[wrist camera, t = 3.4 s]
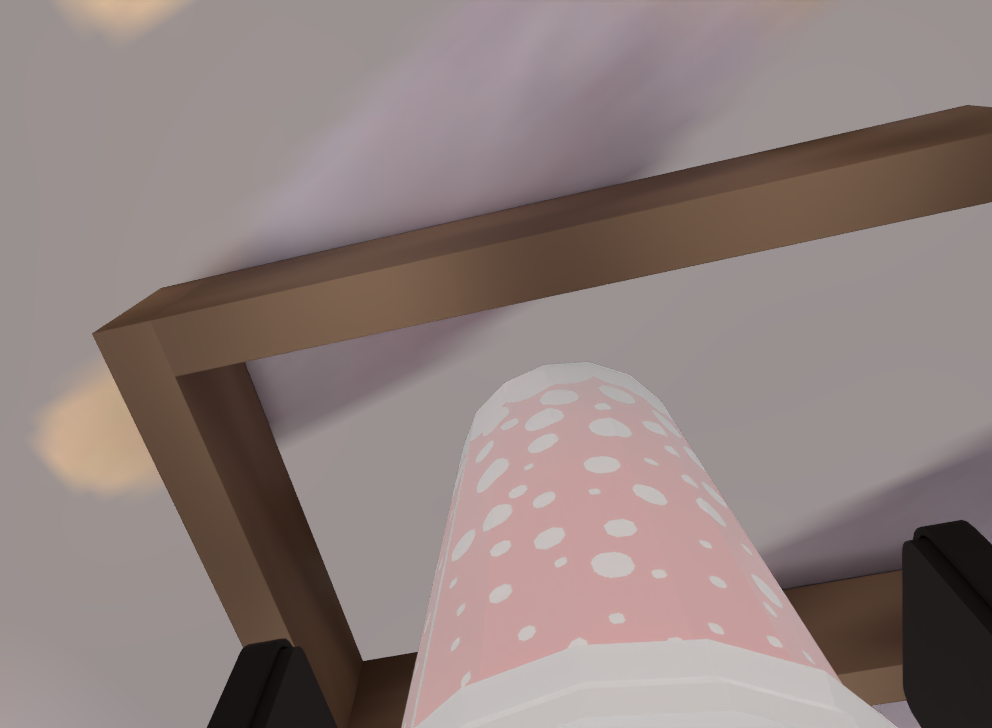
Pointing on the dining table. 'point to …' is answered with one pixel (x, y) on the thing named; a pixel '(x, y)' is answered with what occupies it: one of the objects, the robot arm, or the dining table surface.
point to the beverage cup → (606, 580)
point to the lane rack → (473, 288)
